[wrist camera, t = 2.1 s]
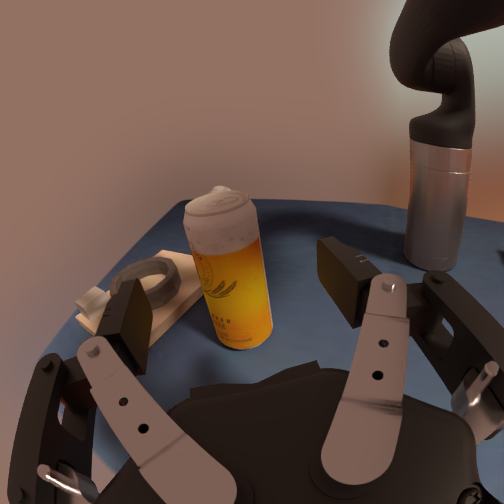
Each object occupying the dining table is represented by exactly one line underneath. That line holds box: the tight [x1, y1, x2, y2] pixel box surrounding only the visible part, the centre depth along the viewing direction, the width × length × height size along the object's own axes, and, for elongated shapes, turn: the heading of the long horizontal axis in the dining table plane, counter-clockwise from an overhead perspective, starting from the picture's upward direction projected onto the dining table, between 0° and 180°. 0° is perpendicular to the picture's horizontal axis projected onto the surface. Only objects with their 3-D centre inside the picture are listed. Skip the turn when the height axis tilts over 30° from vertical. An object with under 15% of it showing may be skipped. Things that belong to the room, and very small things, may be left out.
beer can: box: [183, 190, 273, 350], centre depth 25 cm, size 6×6×15 cm
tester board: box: [75, 250, 204, 348], centre depth 36 cm, size 20×14×4 cm
